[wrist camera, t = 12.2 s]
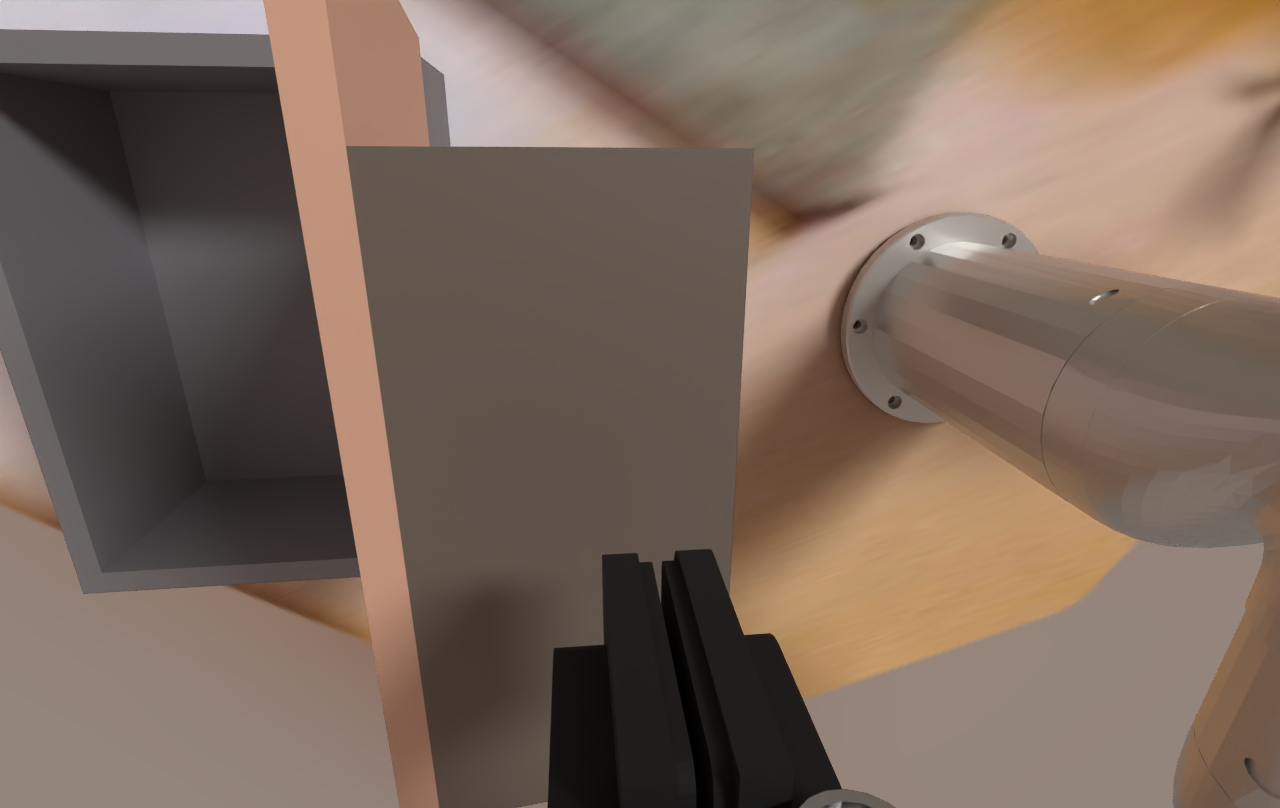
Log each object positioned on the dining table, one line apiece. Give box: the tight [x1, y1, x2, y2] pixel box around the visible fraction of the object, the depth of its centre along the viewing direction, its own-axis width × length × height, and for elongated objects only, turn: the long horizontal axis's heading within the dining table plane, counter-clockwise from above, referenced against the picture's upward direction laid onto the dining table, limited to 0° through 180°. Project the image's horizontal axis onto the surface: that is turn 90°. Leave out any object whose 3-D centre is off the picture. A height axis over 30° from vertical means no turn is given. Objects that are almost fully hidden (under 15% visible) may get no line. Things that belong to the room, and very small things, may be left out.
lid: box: [263, 0, 754, 808], centre depth 20 cm, size 16×22×7 cm
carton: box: [0, 29, 450, 594], centre depth 31 cm, size 16×22×10 cm
